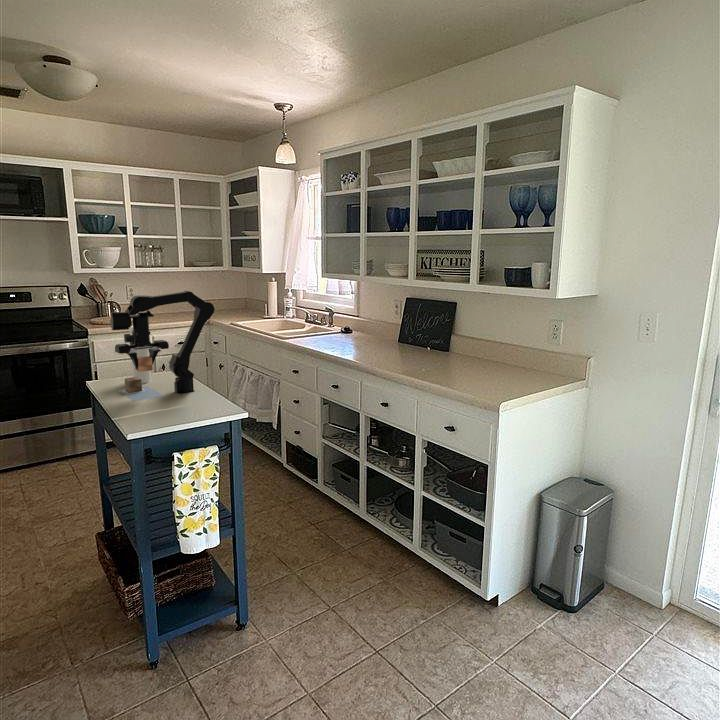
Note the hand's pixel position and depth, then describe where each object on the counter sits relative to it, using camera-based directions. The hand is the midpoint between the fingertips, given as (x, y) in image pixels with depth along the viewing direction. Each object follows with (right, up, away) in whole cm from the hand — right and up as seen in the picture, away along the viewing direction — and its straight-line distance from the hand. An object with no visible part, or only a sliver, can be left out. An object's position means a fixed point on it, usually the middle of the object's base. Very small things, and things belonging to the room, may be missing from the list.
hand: (143, 368), depth 205 cm
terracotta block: (0, -1, 0) cm, 1 cm away
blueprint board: (-4, -11, +6) cm, 13 cm away
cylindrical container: (-11, -7, +25) cm, 28 cm away
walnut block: (-8, -9, +10) cm, 16 cm away
